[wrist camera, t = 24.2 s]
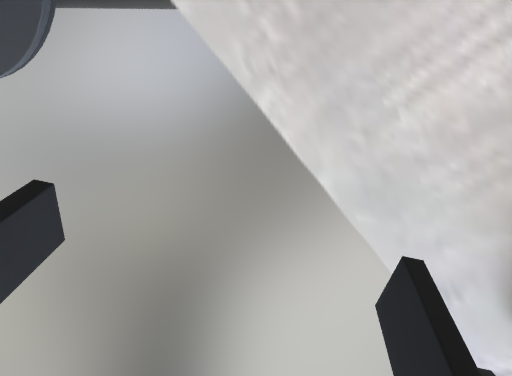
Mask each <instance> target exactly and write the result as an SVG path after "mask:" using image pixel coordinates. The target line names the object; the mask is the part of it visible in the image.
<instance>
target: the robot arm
mask: <svg viewBox="0 0 512 376" xmlns="http://www.w3.org/2000/svg"><path fill="white" fill-rule="evenodd" d="M64 240H65V238H64V233H63V228H62V222H61V217H60V212H59V207H58V202H57V197H56V192H55V187H54V184H53V183H48V182H43V181H39V180H32V181H31V182H29V183H28V184H26V185H25V186H23V187H22V188H20V189H18V190H17V191H16V192H14V193H12V194H11V195H9V196H7V197H6V198H4V199H3V200H1V201H0V304H1V303H2V302H3V301H4V300H5V299H6V298H7V297H8V296H9V295H10V294H11V293H12V292H13V291H14V290H15V289H16V288H17V287H18V286H19V285H20V284H21V283H22V282H23V281H24V280H25V279H26V278H27V277H28V276H29V275H30V274H31V273H32V272H33V271H34V270H35V269H36V268H37V267H38V266H39V265H40V264H41V263H42V262H43V261H44V260H45V259H46V258H47V257H48V256H49V255H50V254H51V253H52V252H53V251H54V250H55V249H56V248H57V247H58V246H59V245H60V244H61V243H62V242H63V241H64ZM375 307H376V310H377V314H378V318H379V322H380V326H381V329H382V333H383V337H384V341H385V345H386V348H387V352H388V356H389V360H390V364H391V367H392V371H393V375H394V376H495V375H494V373H493V372H492V371H490V370H486V369H481V368H477V366H476V364H475V362H474V360H473V358H472V356H471V354H470V352H469V350H468V348H467V346H466V344H465V342H464V340H463V338H462V336H461V334H460V332H459V330H458V328H457V326H456V324H455V322H454V320H453V318H452V316H451V315H450V313H449V311H448V309H447V307H446V305H445V303H444V301H443V299H442V297H441V295H440V293H439V291H438V289H437V287H436V285H435V283H434V281H433V279H432V277H431V275H430V273H429V271H428V269H427V267H426V265H425V263H424V261H423V260H419V259H414V258H409V257H404V256H402V258H401V260H400V262H399V263H398V265H397V267H396V269H395V271H394V272H393V274H392V276H391V278H390V280H389V282H388V283H387V285H386V287H385V289H384V290H383V292H382V294H381V296H380V298H379V299H378V301H377V303H376V305H375Z"/></svg>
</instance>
